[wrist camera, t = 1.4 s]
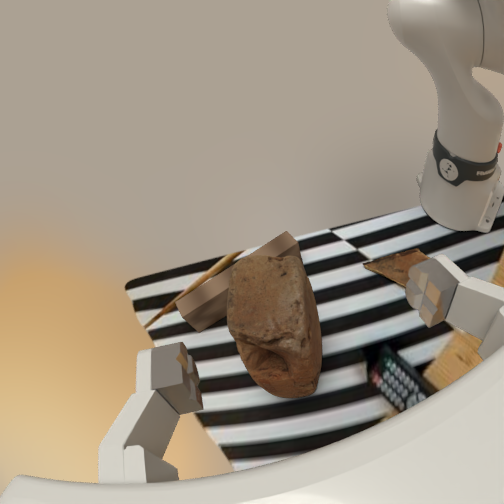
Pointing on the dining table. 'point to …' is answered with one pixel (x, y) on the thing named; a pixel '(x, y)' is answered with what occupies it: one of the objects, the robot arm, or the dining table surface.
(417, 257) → the brown flat angular piece
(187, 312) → the board
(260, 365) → the weathered terracotta carving
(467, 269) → the dining table surface
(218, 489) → the robot arm
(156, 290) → the dining table surface
